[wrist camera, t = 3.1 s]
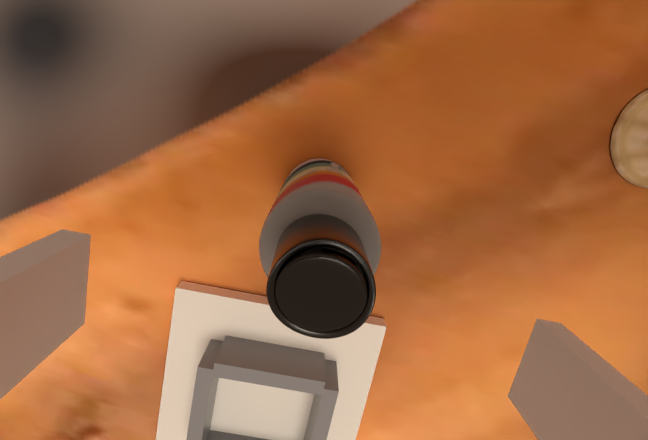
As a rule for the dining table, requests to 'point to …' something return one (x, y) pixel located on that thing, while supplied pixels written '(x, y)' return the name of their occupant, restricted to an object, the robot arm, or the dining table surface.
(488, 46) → the dining table surface
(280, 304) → the lotion bottle
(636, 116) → the hand bell
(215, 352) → the bottle holder
